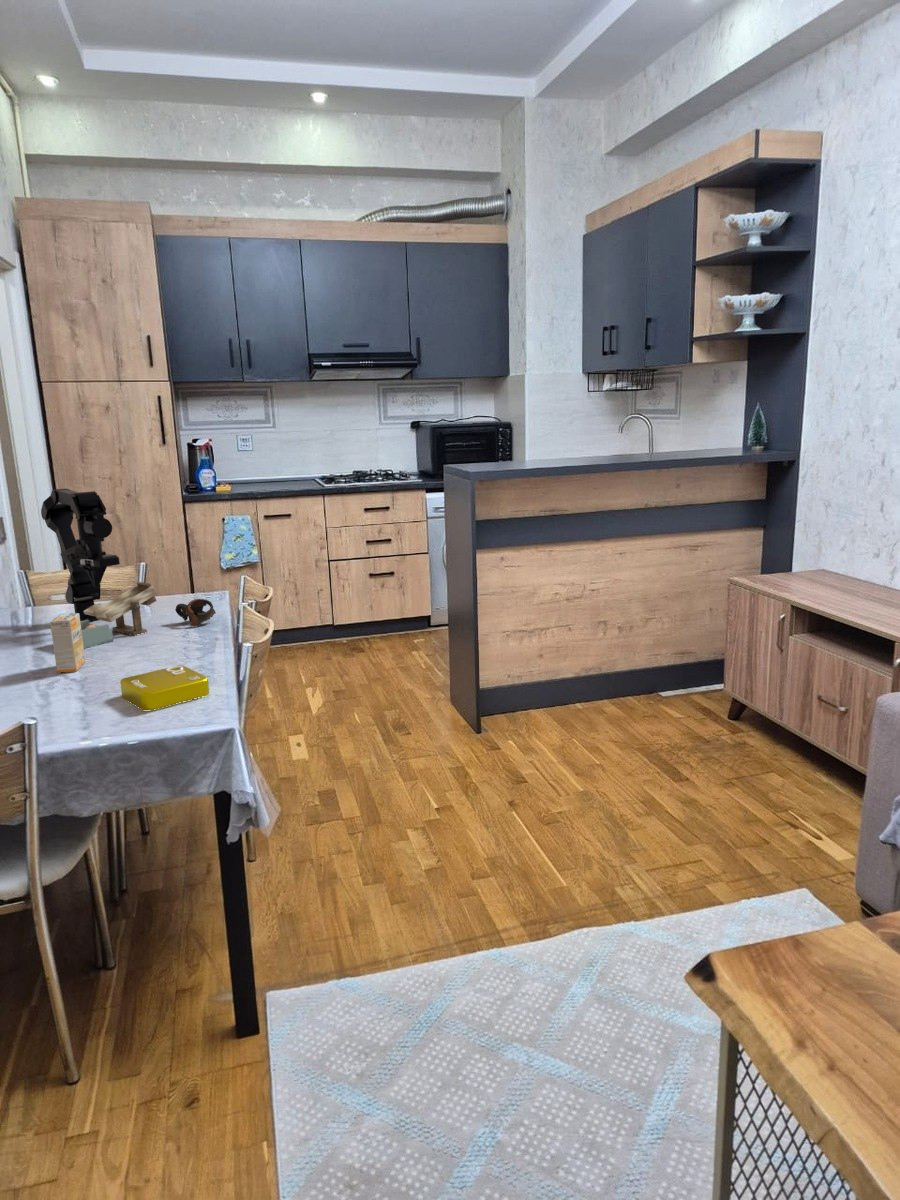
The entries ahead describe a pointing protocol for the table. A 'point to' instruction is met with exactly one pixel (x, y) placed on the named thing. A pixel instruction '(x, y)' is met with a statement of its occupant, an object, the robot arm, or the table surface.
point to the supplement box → (67, 642)
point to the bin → (95, 634)
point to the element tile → (164, 687)
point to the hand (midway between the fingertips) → (96, 587)
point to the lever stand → (136, 622)
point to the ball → (90, 626)
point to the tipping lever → (123, 603)
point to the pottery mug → (195, 611)
